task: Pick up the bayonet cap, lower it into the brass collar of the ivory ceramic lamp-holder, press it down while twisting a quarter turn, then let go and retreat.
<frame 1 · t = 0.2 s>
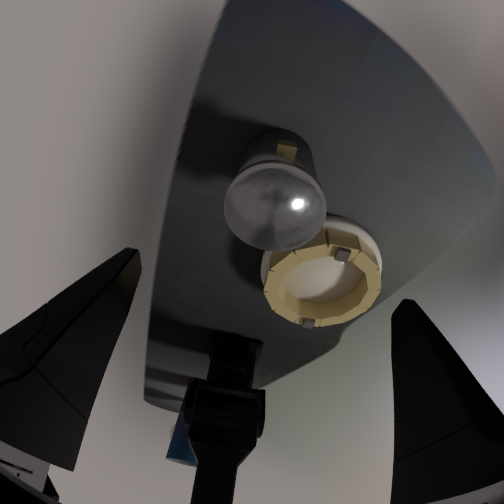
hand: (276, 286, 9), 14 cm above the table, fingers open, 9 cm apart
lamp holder: (321, 265, 27), on the table
cup: (203, 383, 47), on the table
bayonet cap: (278, 160, 21), on the table
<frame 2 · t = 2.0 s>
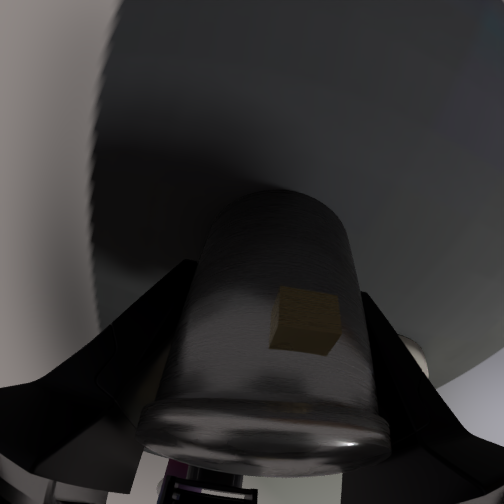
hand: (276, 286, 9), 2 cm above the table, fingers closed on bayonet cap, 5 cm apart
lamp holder: (339, 381, 16), on the table
cup: (189, 447, 37), on the table
bayonet cap: (277, 253, 10), on the table, touching gripper
when the fingers open (4 cm above the table, at t = 5.7 s): bayonet cap drops 1 cm, resting on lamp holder.
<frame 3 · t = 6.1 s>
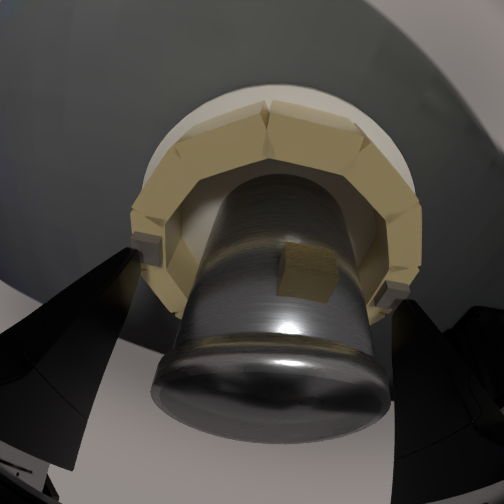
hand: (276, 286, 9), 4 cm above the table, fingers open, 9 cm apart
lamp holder: (278, 217, 12), on the table
bayonet cap: (280, 233, 11), point 1 cm above the table, touching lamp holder
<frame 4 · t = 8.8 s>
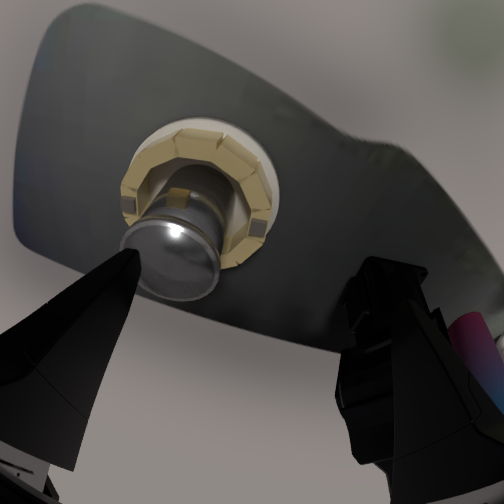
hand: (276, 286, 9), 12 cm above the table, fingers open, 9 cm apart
lightbulb: (500, 335, 30), on the table
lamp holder: (202, 189, 21), on the table
cup: (464, 323, 28), on the table
bayonet cap: (199, 197, 20), point 1 cm above the table, touching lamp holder
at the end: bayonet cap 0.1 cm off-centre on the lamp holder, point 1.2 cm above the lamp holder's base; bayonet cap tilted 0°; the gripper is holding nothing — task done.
